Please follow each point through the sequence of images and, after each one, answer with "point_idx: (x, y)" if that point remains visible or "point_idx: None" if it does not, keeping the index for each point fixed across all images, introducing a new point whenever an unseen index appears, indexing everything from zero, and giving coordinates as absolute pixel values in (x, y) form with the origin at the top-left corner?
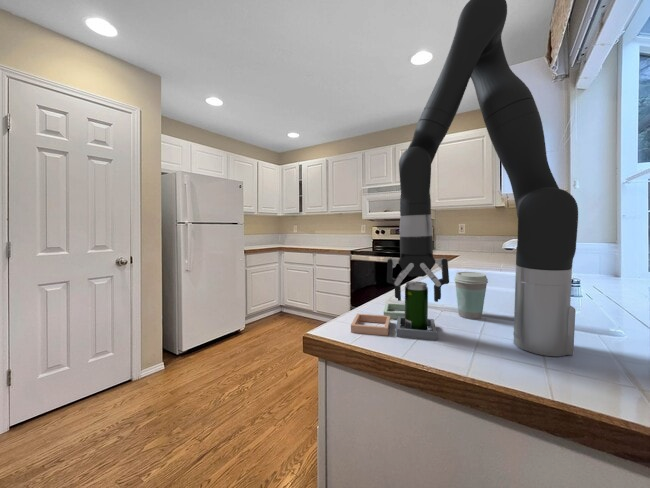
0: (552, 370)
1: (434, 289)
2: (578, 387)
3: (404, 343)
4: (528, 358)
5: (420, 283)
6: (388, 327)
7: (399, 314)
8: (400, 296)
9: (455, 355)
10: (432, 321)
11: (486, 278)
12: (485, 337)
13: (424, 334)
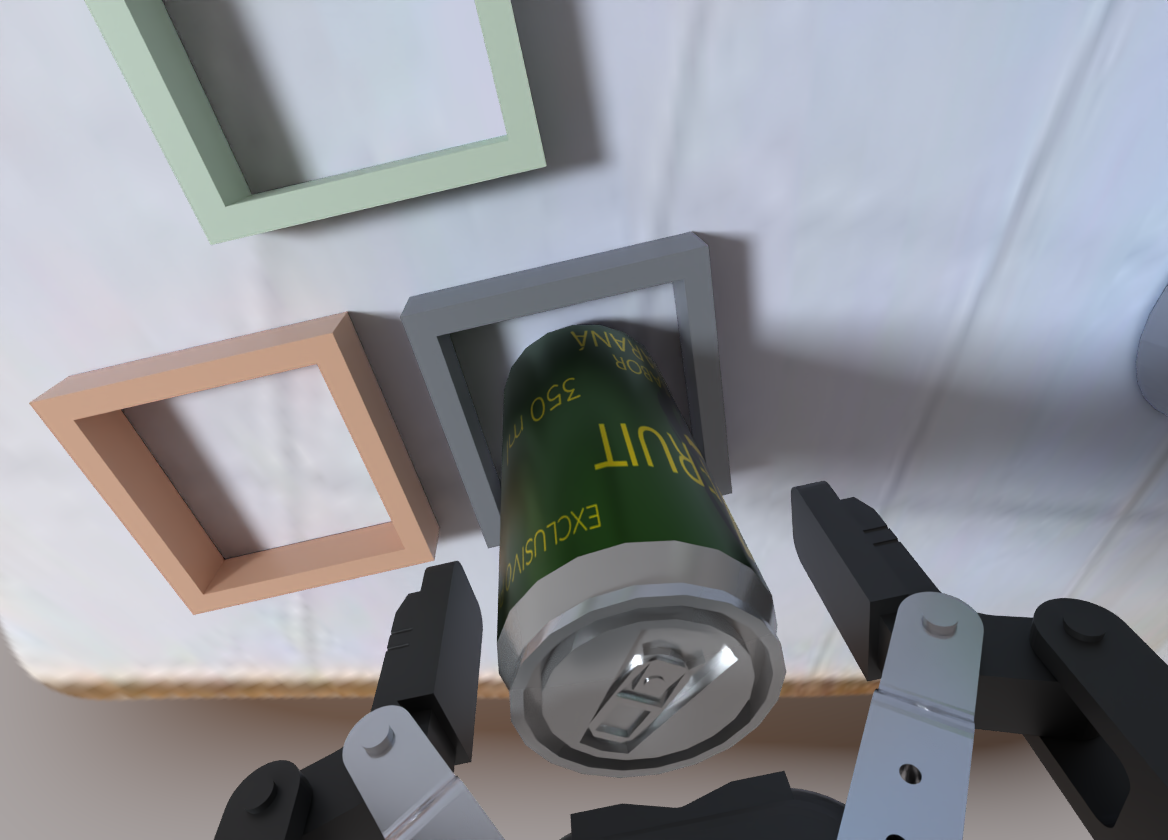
0: (1135, 525)
1: (848, 623)
2: (1138, 594)
3: None
4: (1106, 466)
5: (696, 631)
6: (413, 493)
7: (375, 205)
8: (478, 656)
9: (795, 572)
10: (700, 309)
11: None
12: (1013, 295)
13: None
